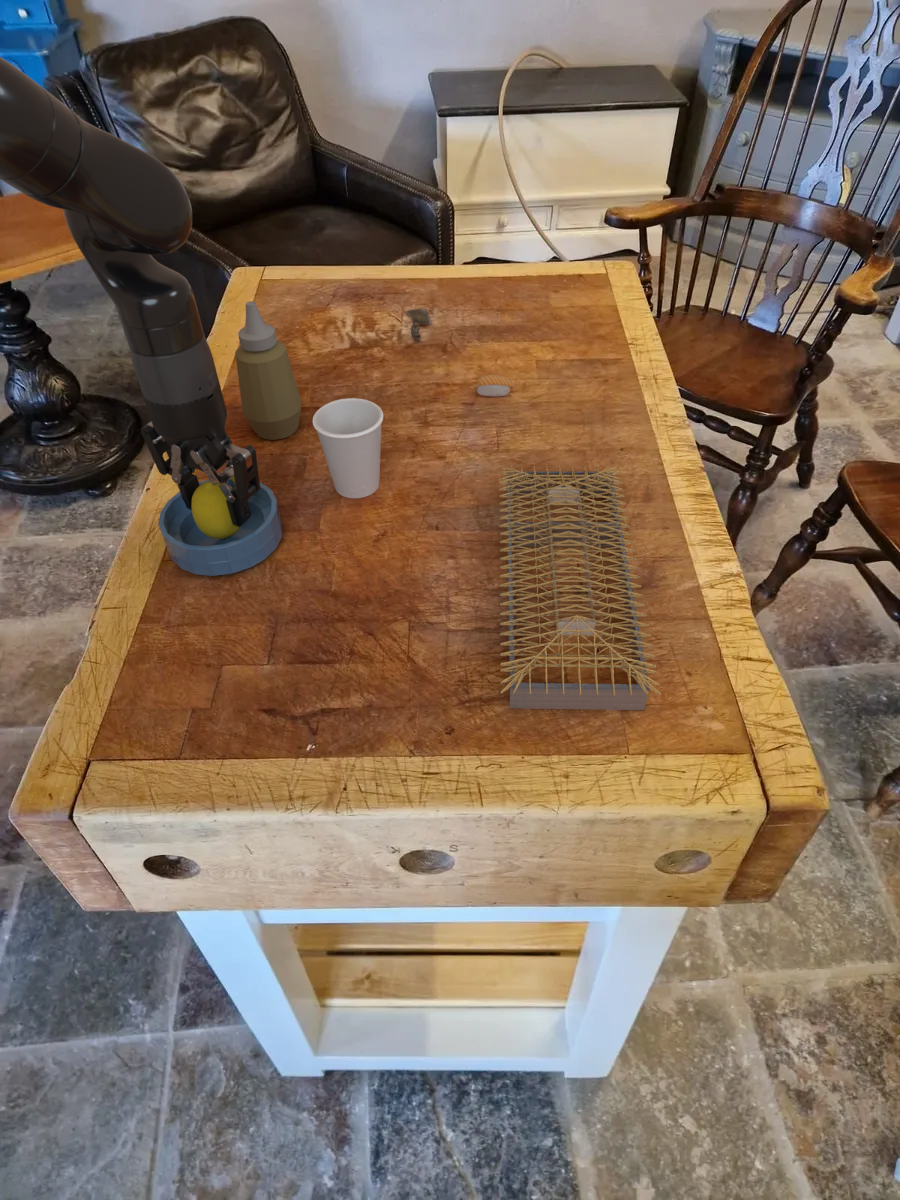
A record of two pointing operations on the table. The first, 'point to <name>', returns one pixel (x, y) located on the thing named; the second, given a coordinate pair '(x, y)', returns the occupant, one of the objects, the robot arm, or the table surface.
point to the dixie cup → (351, 444)
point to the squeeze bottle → (266, 379)
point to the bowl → (221, 554)
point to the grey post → (418, 321)
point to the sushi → (493, 385)
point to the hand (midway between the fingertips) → (218, 513)
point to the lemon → (212, 512)
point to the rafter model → (572, 534)
